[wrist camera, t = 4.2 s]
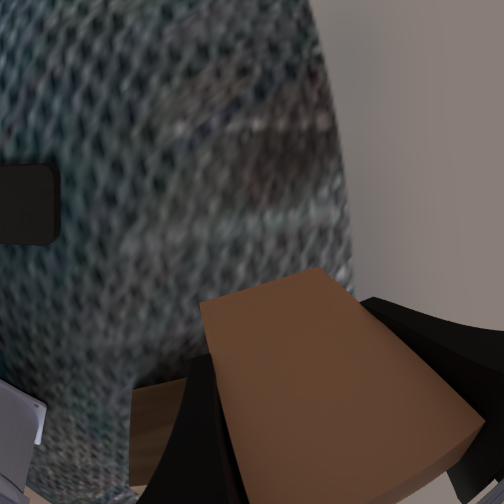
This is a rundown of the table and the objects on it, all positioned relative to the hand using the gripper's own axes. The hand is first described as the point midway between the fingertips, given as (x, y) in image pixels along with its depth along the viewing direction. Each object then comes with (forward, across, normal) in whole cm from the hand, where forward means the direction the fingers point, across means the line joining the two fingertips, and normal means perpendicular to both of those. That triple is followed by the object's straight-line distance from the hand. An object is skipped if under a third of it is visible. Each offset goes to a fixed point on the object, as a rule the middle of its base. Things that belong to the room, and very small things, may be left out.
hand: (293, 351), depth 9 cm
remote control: (+11, +16, -8) cm, 22 cm away
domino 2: (+3, 0, 0) cm, 3 cm away
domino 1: (+10, +8, +10) cm, 16 cm away
